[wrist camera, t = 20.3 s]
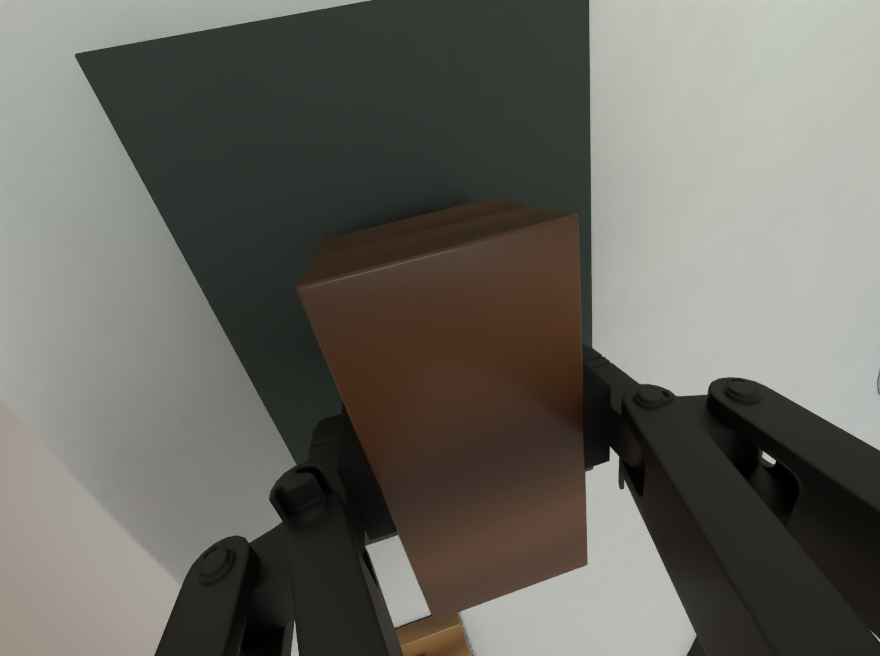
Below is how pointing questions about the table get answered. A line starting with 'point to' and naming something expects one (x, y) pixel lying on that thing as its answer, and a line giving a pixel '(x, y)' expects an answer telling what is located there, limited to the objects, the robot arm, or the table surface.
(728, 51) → the table surface
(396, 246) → the wooden rectangular block
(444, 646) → the stand
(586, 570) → the table surface
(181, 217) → the mat
